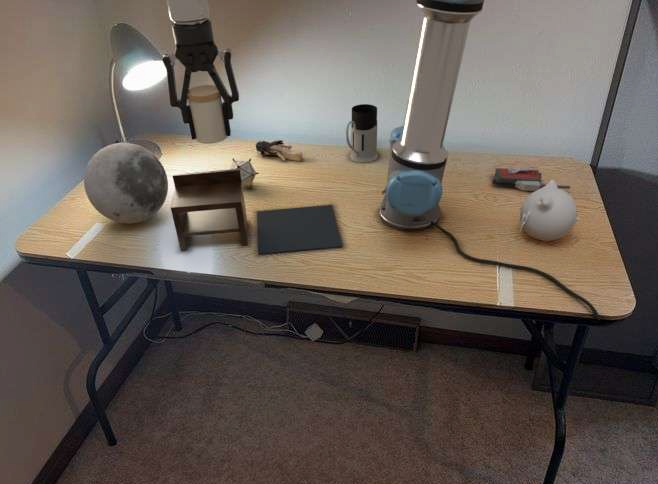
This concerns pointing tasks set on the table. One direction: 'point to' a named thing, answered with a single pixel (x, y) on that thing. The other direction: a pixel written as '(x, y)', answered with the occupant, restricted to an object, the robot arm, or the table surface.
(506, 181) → the walkie-talkie
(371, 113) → the glass holder
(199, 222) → the shelf
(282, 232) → the mat
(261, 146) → the toy figure
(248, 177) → the spiked polyhedron
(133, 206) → the moon model
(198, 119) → the canister
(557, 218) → the grey round piece
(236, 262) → the table surface
